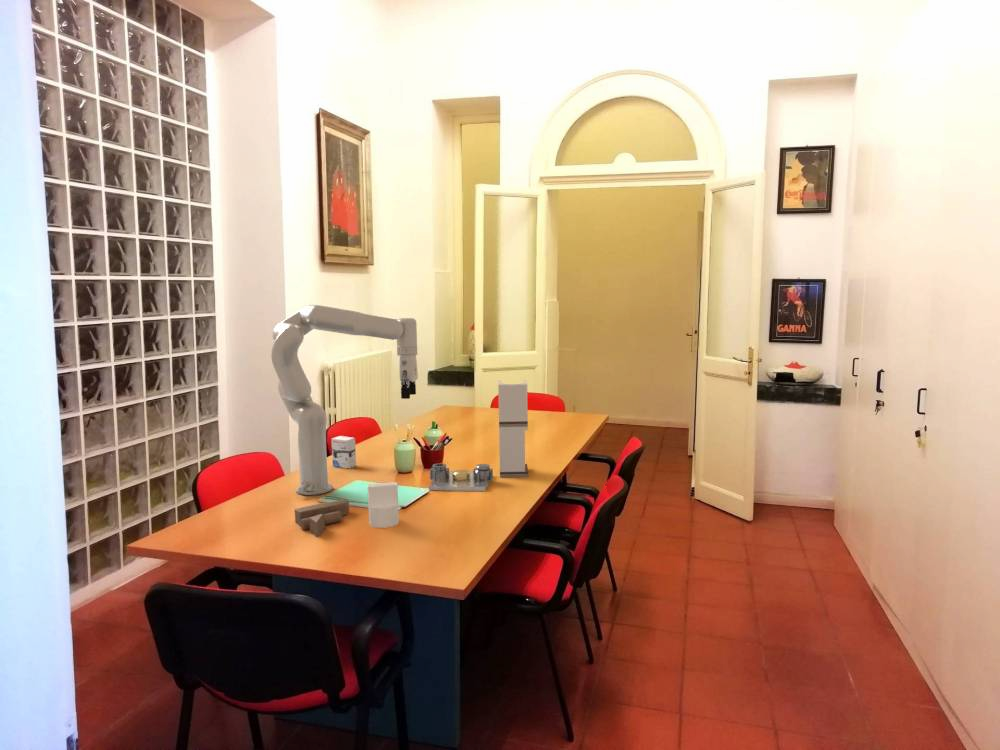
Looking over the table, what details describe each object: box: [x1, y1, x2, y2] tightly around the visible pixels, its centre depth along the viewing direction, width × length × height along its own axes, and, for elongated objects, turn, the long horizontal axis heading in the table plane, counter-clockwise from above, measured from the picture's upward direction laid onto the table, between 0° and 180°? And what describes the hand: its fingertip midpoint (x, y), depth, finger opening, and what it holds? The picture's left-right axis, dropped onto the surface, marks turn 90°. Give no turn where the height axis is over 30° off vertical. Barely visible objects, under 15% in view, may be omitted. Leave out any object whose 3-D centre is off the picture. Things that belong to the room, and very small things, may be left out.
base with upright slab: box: [367, 481, 400, 529], centre depth 212 cm, size 9×9×12 cm
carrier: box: [428, 463, 494, 492], centre depth 254 cm, size 20×22×6 cm
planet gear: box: [429, 462, 450, 481], centre depth 254 cm, size 7×7×5 cm
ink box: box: [331, 435, 357, 469], centre depth 279 cm, size 8×5×12 cm, turn 62°
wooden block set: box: [294, 498, 350, 538], centre depth 212 cm, size 17×6×18 cm
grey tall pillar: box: [497, 379, 529, 478], centre depth 264 cm, size 11×11×35 cm
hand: (408, 396), depth 262 cm, fingers open, 9 cm apart
